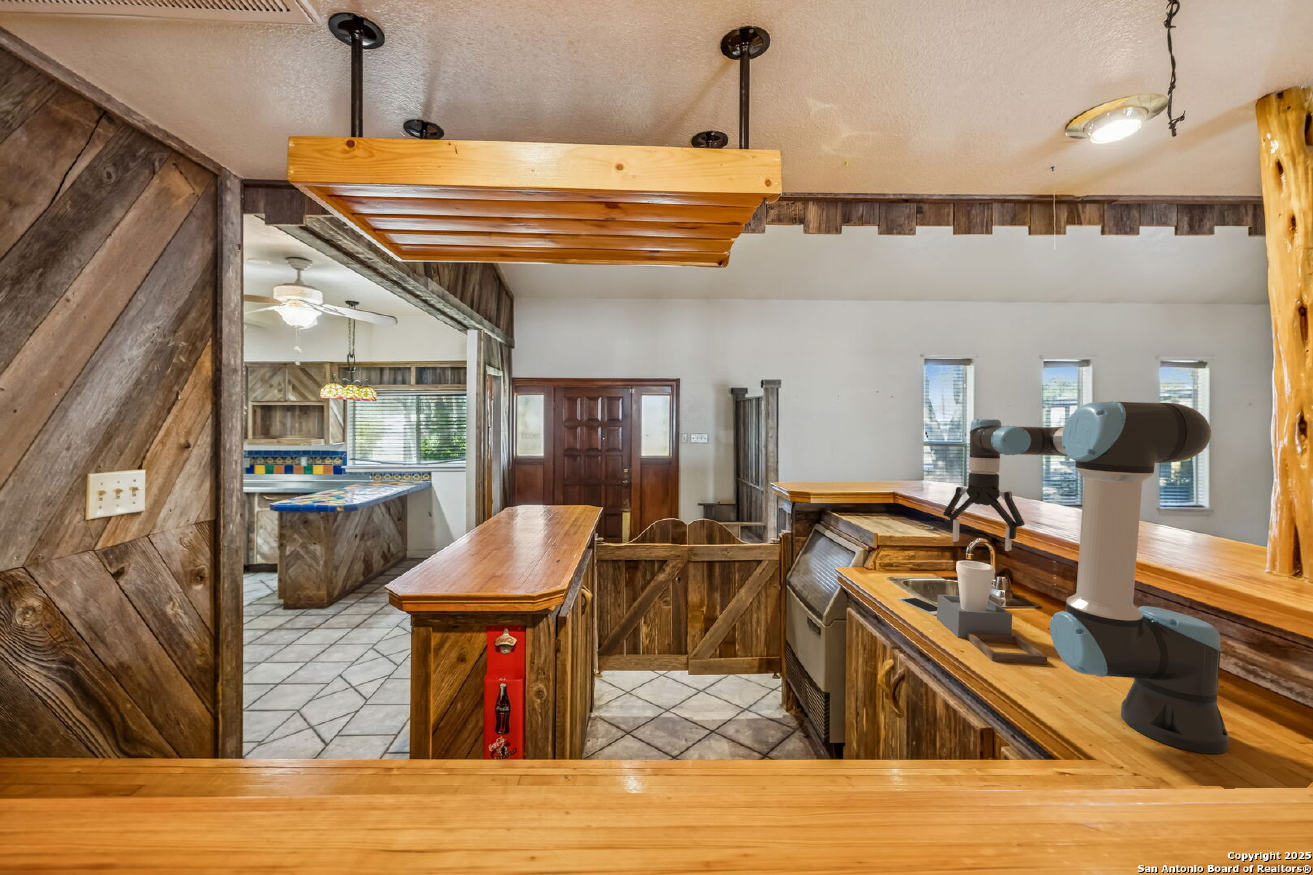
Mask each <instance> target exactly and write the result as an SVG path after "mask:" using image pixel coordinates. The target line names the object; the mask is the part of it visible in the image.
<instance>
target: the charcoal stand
mask: <svg viewBox="0 0 1313 875" xmlns="http://www.w3.org/2000/svg"><path fill="white" fill-rule="evenodd" d="M936 606H937V615H936V619H937V621H938V622H940V623H941V624H942V625H943V626H944V627H945V628H947V630H949V631H950V632H951V633H952V634H954V636H955V637H956V638H960V639H967V634H968V632H969V633H986V634H1002V635H1013V633H1012V629H1013V613H1011V612H1009V611H1008V610H1006V609H1005V608H1004V607H1002V606H1001V605H999V604H997V603H996V602H994V601H992V600H991V599H990V598H989V599H988V604H987V609H986V611H968V610H964V609H962V608H961V604H960V595H952V594H937V605H936Z"/></svg>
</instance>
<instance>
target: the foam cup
mask: <svg viewBox="0 0 1313 875" xmlns="http://www.w3.org/2000/svg"><path fill="white" fill-rule="evenodd" d="M955 568H956V569H955V571H956V572H957V573H956V574H957V584H958V585H957V586H958V592H959V593H958V594H959V595H958V596H960V604H961V608H962V609H964V610H968V611H986V609H987V604H988V599H990V598H989V597H990V593H991V587H992V584H993V583H992V582H993V578H994V577H995V567H994V566H993V565H991V564H988V563H986V562H980V561H975V560H958V561H956V564H955Z"/></svg>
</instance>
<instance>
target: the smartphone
mask: <svg viewBox="0 0 1313 875" xmlns="http://www.w3.org/2000/svg"><path fill="white" fill-rule="evenodd" d="M896 601H898V602H901V603H903V604H906V605H908V606H910V607H912V608H915V609H917V610H919V611H921V612H923V613H926V614H928V615H930V616H933V617H935V616H936V617H937V605H935V604H932V603H930V602H927V601H925V600H922V599H920V598H918V597H915V596H912V595H911V596H903V597H902V596H901V597H896Z"/></svg>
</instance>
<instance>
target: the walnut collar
mask: <svg viewBox="0 0 1313 875" xmlns="http://www.w3.org/2000/svg"><path fill="white" fill-rule="evenodd" d="M966 640H967V641H969V642H970V643H971V644H972V645H973V646H974V647H976V648H977V649H978V650H979V651H980V652H981V653H982V654H984V656H986V657H987V658H988V659H990V661H991V662H1005V663H1019V664H1021V663H1022V664H1034V665H1035V664H1036V665H1048V656H1047V655H1046V654H1045V653H1043V652H1042V651H1040V650H1038V649H1037V648H1036V647H1035V646H1033V645H1032V644H1031V643H1029V642H1028V641H1026V640H1025V639H1024V638H1022V637H1020V636H1019V635H1017V634H1015V635H1014V634H1011V635H1002V634H986V633H969V632H968V634H967V638H966ZM986 643H995V644H996V643H998V644H1009V645H1010V644H1011V645H1012V644H1013V645H1016V646H1018V647H1019V648H1020V649H1022V650H1023V651H1024V652H1026V653H1020V652H1019V653H1018V652H1006V651H1004V652H1003V651H995V650H993V649H992V648H991V647H990V646H988V645H987V644H986Z"/></svg>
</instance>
